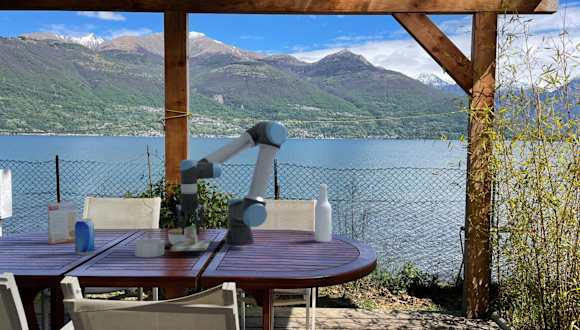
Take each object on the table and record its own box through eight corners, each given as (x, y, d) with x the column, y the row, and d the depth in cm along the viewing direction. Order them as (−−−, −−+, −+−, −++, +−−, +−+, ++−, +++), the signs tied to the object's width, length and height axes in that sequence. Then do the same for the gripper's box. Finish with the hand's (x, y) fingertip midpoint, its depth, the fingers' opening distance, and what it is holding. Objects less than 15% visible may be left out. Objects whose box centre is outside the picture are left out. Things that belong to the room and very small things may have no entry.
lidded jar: (184, 248, 267) (184, 229, 266) (164, 247, 269) (164, 228, 269) (193, 244, 277) (192, 225, 277) (173, 243, 280) (173, 225, 279)
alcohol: (312, 239, 288) (312, 184, 286) (327, 239, 291) (327, 183, 289) (318, 243, 280) (318, 185, 278) (333, 242, 282) (334, 185, 281)
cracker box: (76, 240, 288) (75, 201, 287) (78, 242, 283) (78, 202, 282) (48, 243, 280) (47, 203, 279) (50, 244, 275) (49, 204, 274)
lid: (210, 242, 262) (209, 224, 261) (205, 250, 246) (205, 230, 245) (177, 243, 261) (176, 224, 261) (170, 251, 246) (169, 231, 245)
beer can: (98, 252, 257) (97, 219, 257) (86, 256, 249) (85, 221, 249) (83, 251, 260) (83, 218, 259) (71, 254, 252) (70, 220, 251)
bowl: (166, 251, 260) (166, 238, 259) (160, 257, 247) (160, 244, 246) (139, 251, 260) (139, 238, 259) (131, 257, 247) (131, 244, 246)
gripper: (208, 191, 256) (210, 239, 257) (172, 192, 256) (174, 240, 257) (206, 193, 248) (208, 243, 250) (169, 193, 248) (171, 244, 250)
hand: (191, 241), depth 253 cm, fingers closed on lid, 4 cm apart
